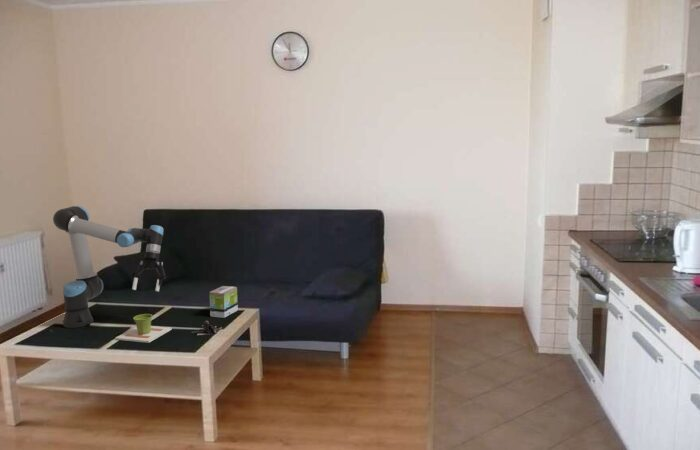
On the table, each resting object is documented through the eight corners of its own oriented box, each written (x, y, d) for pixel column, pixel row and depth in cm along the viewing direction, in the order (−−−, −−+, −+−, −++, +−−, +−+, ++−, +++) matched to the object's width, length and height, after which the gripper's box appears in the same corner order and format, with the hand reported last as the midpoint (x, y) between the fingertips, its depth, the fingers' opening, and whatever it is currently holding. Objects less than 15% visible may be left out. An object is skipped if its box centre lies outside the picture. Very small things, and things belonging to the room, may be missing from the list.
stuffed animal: (225, 329, 301) (208, 321, 294) (217, 346, 299) (199, 338, 291) (214, 323, 310) (197, 315, 302) (206, 340, 308) (188, 332, 300)
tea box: (225, 318, 322) (223, 293, 320) (209, 316, 325) (208, 291, 323) (238, 310, 336) (237, 286, 334) (223, 309, 339) (222, 285, 337)
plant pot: (147, 336, 293) (146, 319, 291) (131, 335, 295) (129, 319, 293) (157, 329, 302) (155, 314, 301) (141, 329, 304) (139, 313, 302)
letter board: (115, 339, 292) (115, 337, 292) (139, 326, 311) (139, 325, 310) (148, 342, 286) (148, 340, 286) (171, 329, 305) (171, 327, 305)
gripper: (128, 250, 315) (120, 287, 310) (170, 252, 312) (163, 290, 306) (135, 253, 323) (127, 290, 317) (176, 255, 319) (169, 292, 313)
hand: (145, 290), depth 311 cm, fingers open, 13 cm apart
